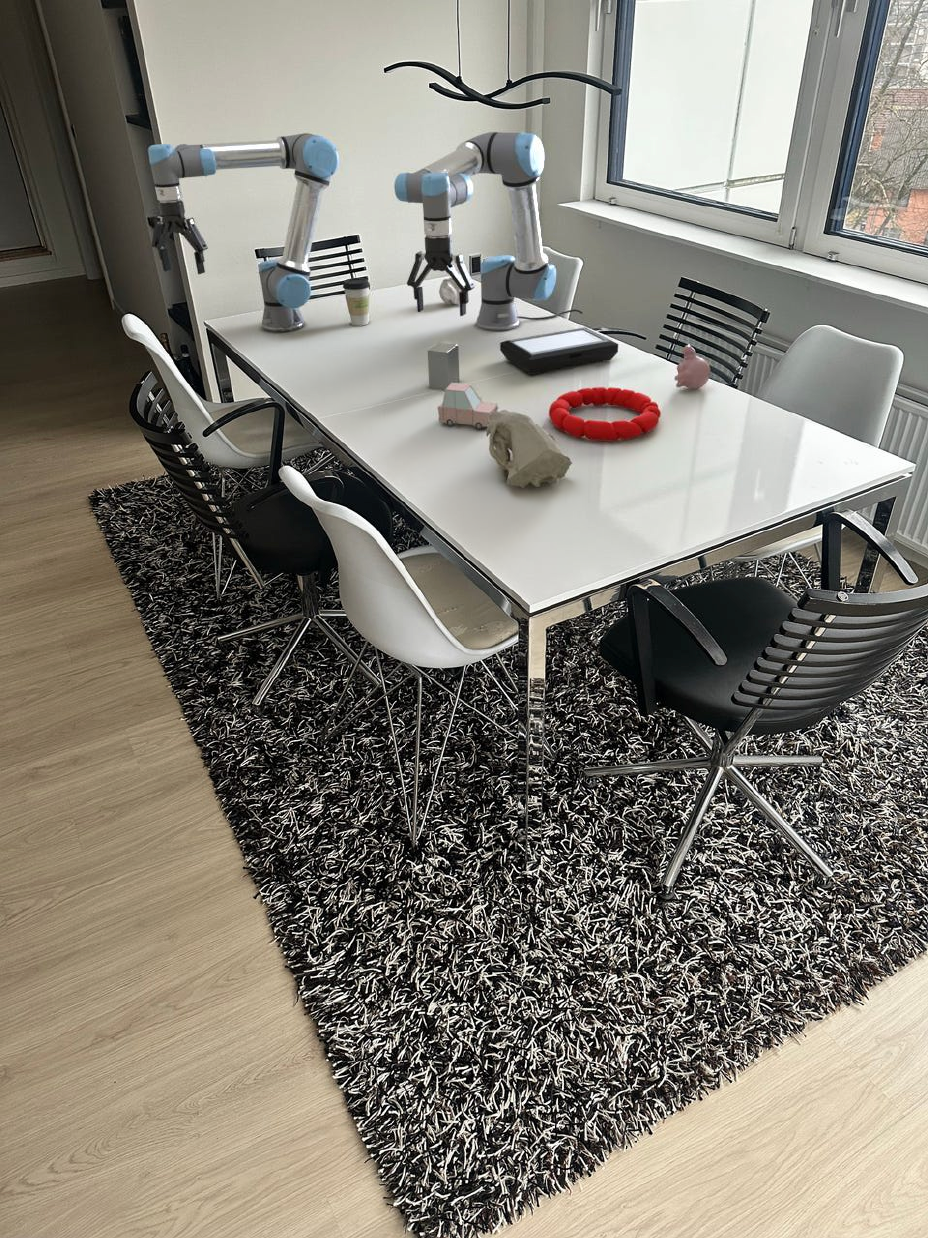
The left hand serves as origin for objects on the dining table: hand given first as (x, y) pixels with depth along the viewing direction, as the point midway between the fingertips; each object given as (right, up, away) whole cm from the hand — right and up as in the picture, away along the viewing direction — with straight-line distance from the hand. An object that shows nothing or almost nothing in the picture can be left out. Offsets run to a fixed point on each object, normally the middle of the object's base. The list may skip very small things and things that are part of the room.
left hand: (184, 271), depth 290 cm
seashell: (+88, +9, +55) cm, 104 cm away
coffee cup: (+53, -4, +38) cm, 65 cm away
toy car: (+92, -59, -44) cm, 118 cm away
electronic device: (+121, -30, -3) cm, 125 cm away
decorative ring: (+129, -59, -46) cm, 149 cm away
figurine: (+158, -45, -27) cm, 166 cm away
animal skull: (+105, -76, -69) cm, 147 cm away
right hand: (+85, -24, -30) cm, 93 cm away
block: (+85, -41, -18) cm, 96 cm away
